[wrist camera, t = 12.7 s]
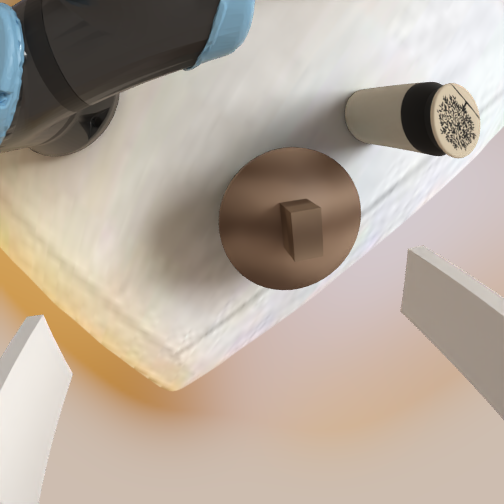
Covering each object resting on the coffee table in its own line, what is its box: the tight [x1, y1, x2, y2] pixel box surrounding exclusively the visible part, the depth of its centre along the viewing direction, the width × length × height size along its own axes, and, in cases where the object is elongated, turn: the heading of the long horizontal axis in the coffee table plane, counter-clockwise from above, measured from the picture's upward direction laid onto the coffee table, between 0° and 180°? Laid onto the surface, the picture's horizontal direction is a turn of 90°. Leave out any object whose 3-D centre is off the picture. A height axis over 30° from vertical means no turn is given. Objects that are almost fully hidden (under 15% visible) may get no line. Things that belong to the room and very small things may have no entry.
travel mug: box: [345, 82, 480, 158], centre depth 32 cm, size 8×8×18 cm
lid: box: [219, 147, 361, 290], centre depth 33 cm, size 16×16×5 cm
